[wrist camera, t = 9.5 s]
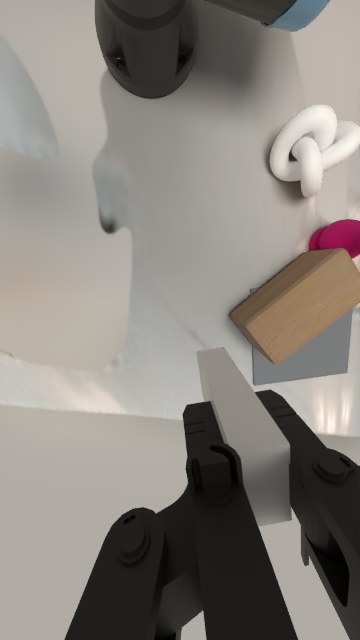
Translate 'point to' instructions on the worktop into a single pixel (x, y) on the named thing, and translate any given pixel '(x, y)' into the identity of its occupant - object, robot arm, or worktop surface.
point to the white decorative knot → (313, 147)
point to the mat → (308, 356)
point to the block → (299, 303)
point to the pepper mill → (338, 237)
